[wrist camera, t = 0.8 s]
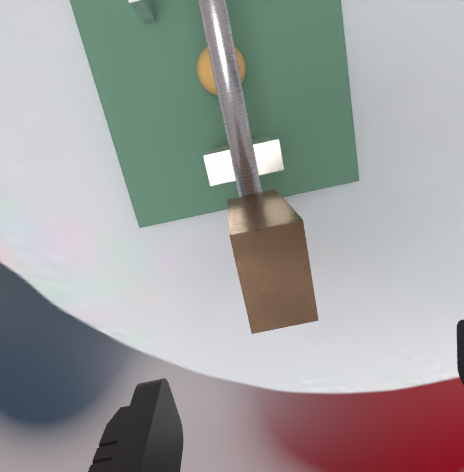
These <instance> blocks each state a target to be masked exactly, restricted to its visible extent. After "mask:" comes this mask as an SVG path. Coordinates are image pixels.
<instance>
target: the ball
mask: <svg viewBox="0 0 464 472" xmlns="http://www.w3.org/2000/svg"><path fill="white" fill-rule="evenodd" d="M235 51H236V56H237V62H238V67H239V72H240V77H241V83H242V82H243V80H244V77H245V72H246V66H245V61H244V58H243V56H242V54H241V52H240V51H239V50H238V49H237V48H236V47H235ZM197 74H198V78H199V80H200V82H201V84H202V86H203V87H204V88H205V89H206V90H207V91H209V92H210V93H212V94H214V95H217V90H216V85H215V81H214V76H213V71H212V66H211V62H210V57H209V52H208V47H206V48H205V49H204V50H203V51H202V53H201V54H200V56H199V59H198V63H197Z"/></svg>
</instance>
